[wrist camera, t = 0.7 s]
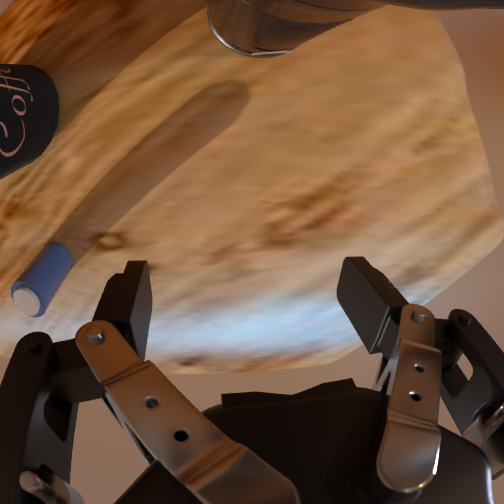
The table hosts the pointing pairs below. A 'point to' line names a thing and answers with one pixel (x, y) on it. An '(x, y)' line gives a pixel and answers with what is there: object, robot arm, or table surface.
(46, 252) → the salt shaker
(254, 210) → the table surface
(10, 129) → the coffee jar
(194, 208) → the table surface
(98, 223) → the table surface
